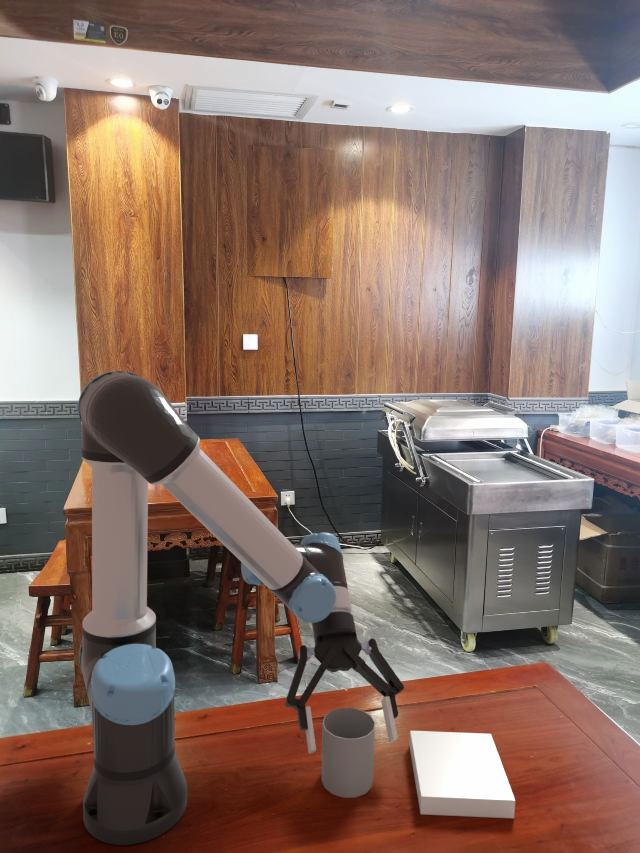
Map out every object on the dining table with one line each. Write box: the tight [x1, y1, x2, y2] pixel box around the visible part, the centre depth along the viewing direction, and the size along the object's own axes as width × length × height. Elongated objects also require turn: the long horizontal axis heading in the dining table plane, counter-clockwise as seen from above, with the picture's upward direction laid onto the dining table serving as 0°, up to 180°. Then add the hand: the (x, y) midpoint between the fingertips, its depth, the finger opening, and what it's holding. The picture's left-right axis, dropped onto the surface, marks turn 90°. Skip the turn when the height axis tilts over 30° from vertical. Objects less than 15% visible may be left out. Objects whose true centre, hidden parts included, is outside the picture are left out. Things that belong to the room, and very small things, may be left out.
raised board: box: [409, 730, 516, 819], centre depth 105 cm, size 14×16×3 cm
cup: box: [320, 707, 376, 799], centre depth 104 cm, size 8×8×10 cm
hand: (353, 746), depth 104 cm, fingers open, 13 cm apart
